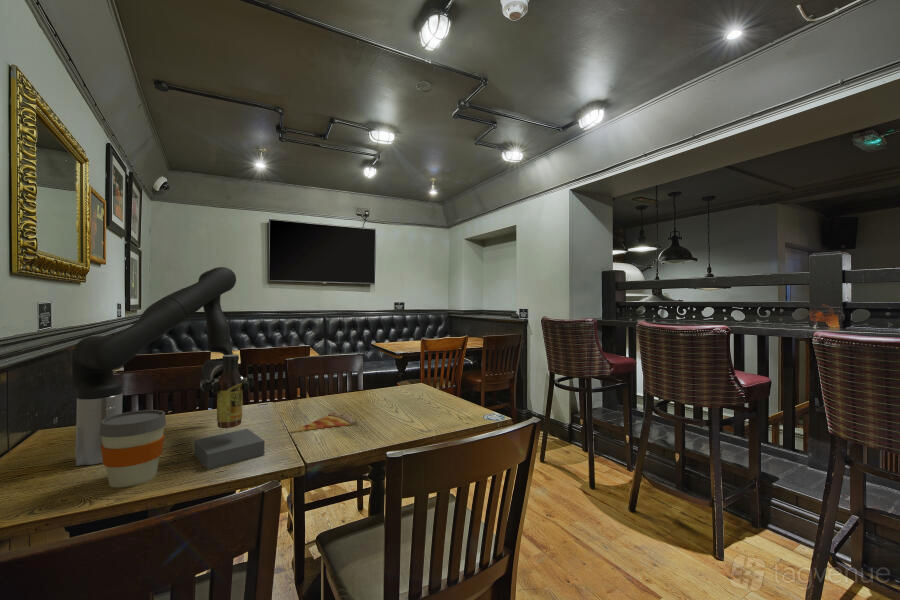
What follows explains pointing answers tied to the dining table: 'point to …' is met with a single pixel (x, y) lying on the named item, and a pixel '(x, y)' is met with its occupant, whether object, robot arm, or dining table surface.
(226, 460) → the charcoal base
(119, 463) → the reusable coffee cup
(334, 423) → the pizza slice
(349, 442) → the dining table surface
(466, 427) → the dining table surface
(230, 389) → the sauce bottle
